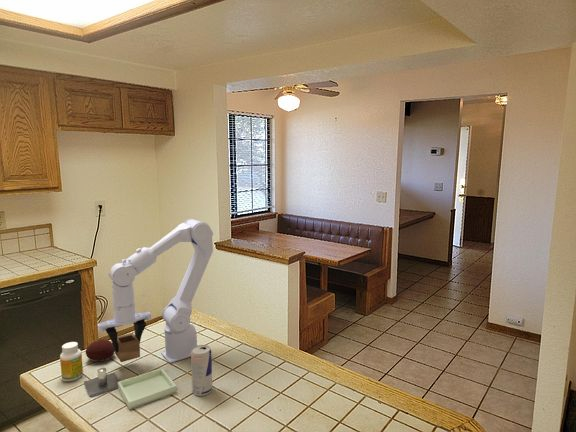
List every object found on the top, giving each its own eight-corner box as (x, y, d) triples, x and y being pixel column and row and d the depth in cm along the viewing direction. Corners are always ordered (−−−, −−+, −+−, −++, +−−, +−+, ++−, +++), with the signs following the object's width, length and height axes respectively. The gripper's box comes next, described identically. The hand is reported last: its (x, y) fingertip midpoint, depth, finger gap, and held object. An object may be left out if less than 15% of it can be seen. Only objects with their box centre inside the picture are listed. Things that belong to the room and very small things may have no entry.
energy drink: (216, 387, 107) (214, 346, 106) (205, 398, 102) (204, 355, 101) (199, 383, 109) (197, 343, 107) (188, 394, 104) (186, 352, 102)
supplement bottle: (73, 382, 109) (71, 350, 108) (57, 380, 110) (54, 348, 109) (87, 372, 115) (84, 341, 113) (71, 370, 116) (68, 339, 114)
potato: (94, 352, 126) (93, 335, 126) (120, 353, 126) (118, 335, 125) (82, 364, 119) (80, 346, 118) (108, 365, 119) (107, 346, 118)
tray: (162, 374, 114) (161, 367, 113) (176, 392, 105) (176, 385, 105) (118, 388, 106) (117, 382, 106) (129, 409, 98) (129, 402, 97)
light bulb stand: (114, 374, 114) (113, 359, 113) (121, 386, 107) (120, 371, 107) (84, 383, 109) (82, 368, 108) (89, 397, 103) (88, 381, 102)
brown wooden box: (114, 352, 117) (114, 337, 117) (133, 348, 121) (132, 332, 120) (120, 362, 112) (120, 345, 111) (140, 357, 115) (139, 341, 115)
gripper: (144, 295, 121) (147, 336, 123) (93, 305, 113) (97, 349, 115) (152, 301, 116) (154, 344, 118) (99, 313, 107) (103, 359, 109)
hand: (127, 347), depth 116 cm, fingers closed on brown wooden box, 5 cm apart
